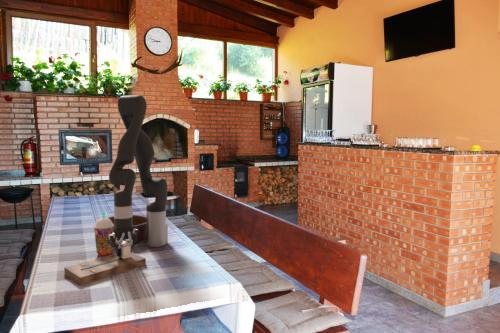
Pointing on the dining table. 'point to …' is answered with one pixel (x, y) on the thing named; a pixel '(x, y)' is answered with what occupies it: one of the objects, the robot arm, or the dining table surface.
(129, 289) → the dining table surface
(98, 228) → the smoothie
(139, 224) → the wooden bowl
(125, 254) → the fader tab
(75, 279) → the brown flat wooden board
